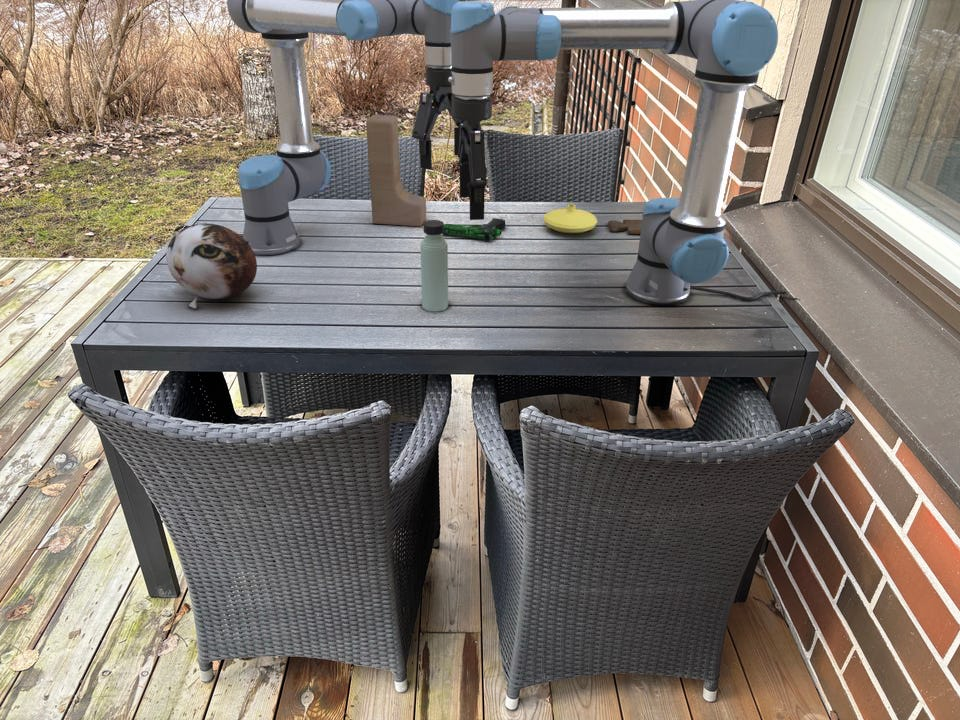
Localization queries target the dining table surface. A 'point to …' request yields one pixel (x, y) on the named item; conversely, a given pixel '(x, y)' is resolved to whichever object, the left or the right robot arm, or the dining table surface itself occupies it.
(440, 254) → the bottle
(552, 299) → the dining table surface
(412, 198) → the decorative block
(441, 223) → the cap
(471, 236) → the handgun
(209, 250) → the cat face balloon
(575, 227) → the yellow low dome
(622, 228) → the dark wooden board
